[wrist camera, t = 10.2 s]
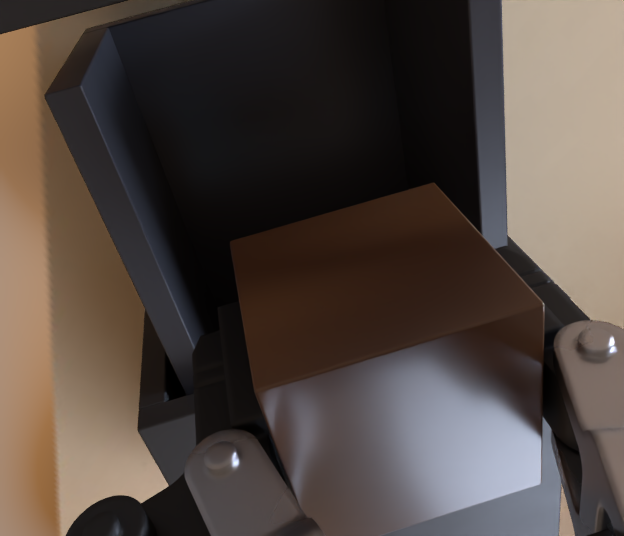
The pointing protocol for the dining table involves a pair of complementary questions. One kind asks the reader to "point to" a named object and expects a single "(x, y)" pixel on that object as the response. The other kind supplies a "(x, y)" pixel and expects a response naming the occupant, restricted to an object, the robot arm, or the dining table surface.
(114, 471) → the dining table surface
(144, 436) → the cabinet
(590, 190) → the dining table surface
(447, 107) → the drawer
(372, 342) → the block
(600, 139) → the dining table surface
